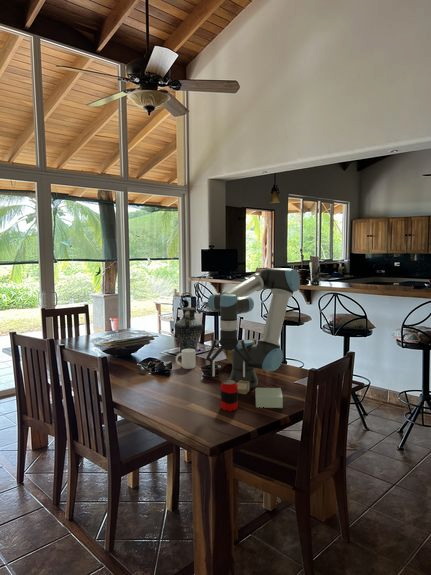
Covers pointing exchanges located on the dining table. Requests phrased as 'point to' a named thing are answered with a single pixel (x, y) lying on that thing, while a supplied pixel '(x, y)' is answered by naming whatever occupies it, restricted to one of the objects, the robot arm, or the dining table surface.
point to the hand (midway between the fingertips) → (228, 375)
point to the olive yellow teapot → (229, 353)
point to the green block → (269, 398)
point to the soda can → (229, 395)
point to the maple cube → (243, 387)
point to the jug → (188, 329)
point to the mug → (187, 358)
